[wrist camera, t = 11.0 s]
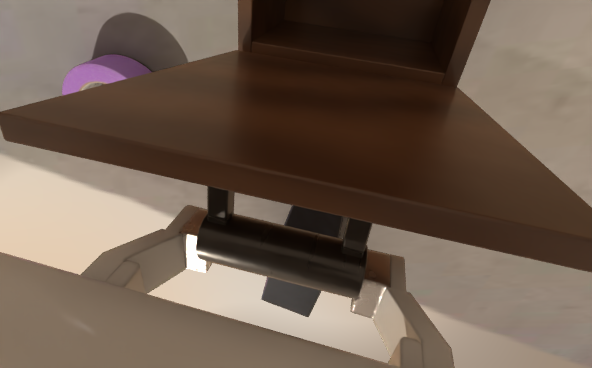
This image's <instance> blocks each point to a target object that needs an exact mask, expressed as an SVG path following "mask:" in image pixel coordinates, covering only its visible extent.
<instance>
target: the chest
mask: <svg viewBox="0 0 592 368" xmlns="http://www.w3.org/2000/svg"><path fill="white" fill-rule="evenodd" d="M490 1H491V0H238V51H244V52H250V53H256V54H262V55H268V56H274V57H280V58H286V59H292V60H298V61H304V62H310V63H316V64H322V65H327V66H333V67H339V68H345V69H351V70H357V71H363V72H369V73H375V74H381V75H387V76H393V77H399V78H405V79H410V80H416V81H422V82H428V83H434V84H440V85H446V86H452V87H457V85H458V82H459V80H460V77H461V75H462V72H463V70H464V67H465V65H466V62H467V60H468V57H469V54H470V52H471V49H472V47H473V44H474V42H475V39H476V37H477V34H478V32H479V29H480V26H481V24H482V21H483V19H484V16H485V14H486V11H487V9H488V6H489V4H490Z"/></svg>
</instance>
